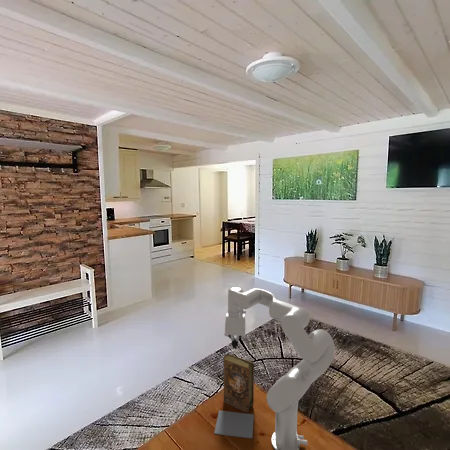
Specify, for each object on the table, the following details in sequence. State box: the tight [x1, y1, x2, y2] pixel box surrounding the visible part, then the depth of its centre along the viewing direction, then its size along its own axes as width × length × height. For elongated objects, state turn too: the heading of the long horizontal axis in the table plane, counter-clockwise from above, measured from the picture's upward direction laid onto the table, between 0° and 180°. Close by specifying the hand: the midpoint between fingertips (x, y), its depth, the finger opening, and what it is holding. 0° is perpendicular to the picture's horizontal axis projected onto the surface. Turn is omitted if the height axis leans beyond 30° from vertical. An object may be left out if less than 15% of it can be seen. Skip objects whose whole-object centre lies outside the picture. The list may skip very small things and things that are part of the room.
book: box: [223, 353, 255, 414], centre depth 150 cm, size 16×6×25 cm, turn 58°
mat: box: [213, 409, 255, 439], centre depth 138 cm, size 18×14×1 cm
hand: (234, 347), depth 141 cm, fingers closed
